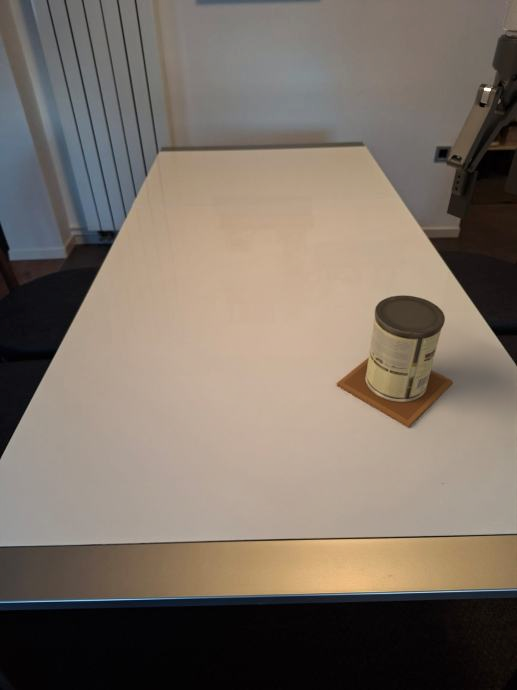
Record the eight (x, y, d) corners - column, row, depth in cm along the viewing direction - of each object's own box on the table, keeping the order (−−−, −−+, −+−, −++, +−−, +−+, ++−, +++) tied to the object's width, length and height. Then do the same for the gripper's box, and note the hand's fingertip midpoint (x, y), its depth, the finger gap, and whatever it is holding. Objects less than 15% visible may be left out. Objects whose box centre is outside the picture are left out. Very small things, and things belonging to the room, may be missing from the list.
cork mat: (452, 383, 84) (453, 380, 84) (408, 427, 77) (409, 425, 76) (382, 348, 92) (383, 345, 92) (336, 385, 84) (336, 382, 84)
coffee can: (373, 356, 89) (384, 289, 81) (431, 371, 86) (449, 303, 77) (357, 392, 82) (367, 323, 73) (420, 410, 79) (439, 340, 70)
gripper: (559, 23, 67) (512, 178, 80) (440, 40, 56) (408, 217, 69) (617, 27, 62) (556, 191, 76) (499, 47, 51) (452, 236, 64)
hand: (485, 204), depth 72 cm, fingers open, 13 cm apart
